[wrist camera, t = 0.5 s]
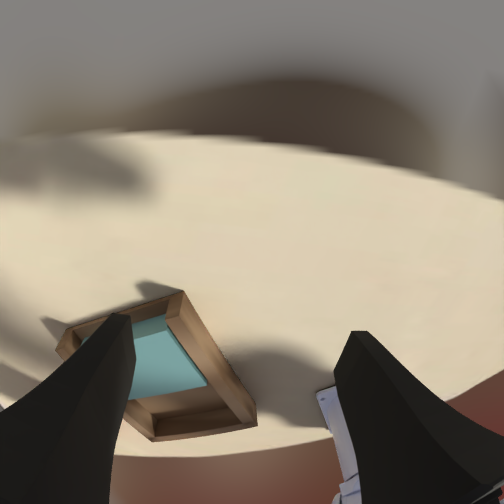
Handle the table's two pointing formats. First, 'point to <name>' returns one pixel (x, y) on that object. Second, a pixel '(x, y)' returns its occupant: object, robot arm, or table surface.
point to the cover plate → (161, 361)
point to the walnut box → (187, 401)
